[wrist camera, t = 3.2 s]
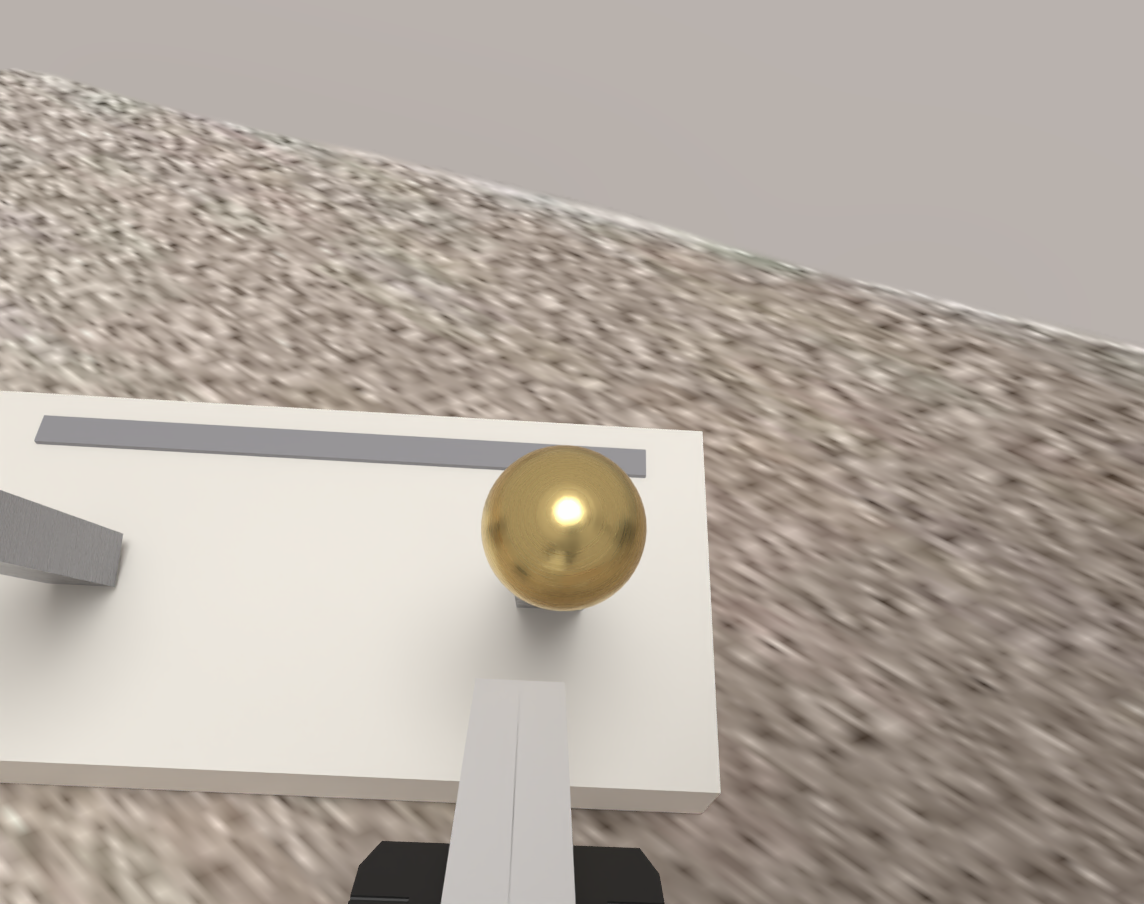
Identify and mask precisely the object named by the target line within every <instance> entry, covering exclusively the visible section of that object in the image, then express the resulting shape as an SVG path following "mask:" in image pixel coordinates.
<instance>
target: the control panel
mask: <svg viewBox="0 0 1144 904" xmlns="http://www.w3.org/2000/svg"><path fill="white" fill-rule="evenodd" d="M556 445H571V446H579V447H583V448H587V449H590V450H593V451H595V452H598V453H600V454H602V455H604V456H606V457H607V458H609V459H610V460H612V461H613V462H614V463H616V464H617V465H618V466H619V467H620V468H621V469H622V470H623V471H624V472H625V473H626V474H627V475H628V476H629V478H630V479H631V480H632V482H633V484H634V485H635V487H636V488H637V490H638V493H639V495H640V497H641V499H642V502H643V506H644V509H645V515H646V523H647V533H646V542H645V547H644V551H643V554H642V557H641V559H640V562H639V564H638V566H637V568H636V570H635V572H634V573H633V575H632V576H631V578H630V579H629V580H628V582H627V583H626V584H625V585H624V586H623V587H622V588H621V589H620V590H619V591H618V592H616V593H615V594H614V595H613V596H611V597H610V598H608V599H606V600H605V601H603V602H601V603H599V604H597V605H594V606H592V607H589V608H585V609H583V611H576V610H575V611H552V610H546V609H537V608H518V607H516V601H515V595H514V594H513V593H511V592H510V591H509V590H508V589H507V588H506V587H505V586H504V585H503V584H502V583H501V582H500V581H499V579H498V578H497V577H496V576H495V574H494V572H493V571H492V569H491V567H490V565H489V563H488V561H487V558H486V556H485V552H484V549H483V545H482V537H481V520H482V513H483V508H484V505H485V501H486V498H487V496H488V494H489V491H490V489H491V488H492V486H493V484H494V483H495V481H496V480H497V479H498V477H499V476H500V475H501V473H502V472H503V471H504V470H505V469H506V468H507V467H508V466H510V465H511V464H512V463H514V462H515V461H516V460H517V459H519V458H521V457H522V456H524V455H526V454H528V453H530V452H532V451H535V450H537V449H541V448H545V447H549V446H556ZM0 490H2V491H5V492H8V493H10V494H13V495H16V496H19V497H22V498H25V499H27V500H30V501H33V502H36V503H39V504H41V505H44V506H47V507H50V508H53V509H55V510H58V511H61V512H64V513H67V514H69V515H72V516H75V517H78V518H81V519H84V520H86V521H89V522H92V523H95V524H98V525H100V526H103V527H106V528H109V529H112V530H114V531H117V532H120V533H123V539H122V545H121V551H120V557H119V563H118V569H117V575H116V581H115V587H109V586H90V585H70V584H51V583H43V582H37V581H32V580H27V579H22V578H17V577H12V576H7V575H2V574H0V783H17V784H40V785H62V786H85V787H107V788H130V789H152V790H175V791H197V792H220V793H242V794H265V795H287V796H310V797H332V798H355V799H377V800H400V801H423V802H445V803H456V802H457V795H458V789H459V782H460V776H461V769H462V763H463V756H464V750H465V743H466V737H467V730H468V724H469V717H470V711H471V704H472V698H473V691H474V685H475V678H482V679H504V680H525V681H547V682H565V693H566V714H567V735H568V756H569V777H570V798H571V808H580V809H603V810H625V811H648V812H670V813H693V814H702V813H703V812H704V811H705V810H706V809H707V807H708V806H709V805H710V804H711V803H712V802H713V801H714V800H715V799H716V798H717V797H718V795H719V794H720V793H721V790H720V770H719V751H718V731H717V711H716V691H715V672H714V652H713V632H712V613H711V593H710V573H709V554H708V534H707V514H706V494H705V475H704V455H703V435H702V431H685V430H668V429H651V428H634V427H616V426H599V425H582V424H565V423H547V422H530V421H513V420H496V419H478V418H461V417H444V416H427V415H410V414H392V413H375V412H358V411H341V410H323V409H306V408H289V407H272V406H254V405H237V404H220V403H203V402H185V401H168V400H151V399H134V398H117V397H99V396H82V395H65V394H48V393H30V392H13V391H0Z"/></svg>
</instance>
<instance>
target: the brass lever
mask: <svg viewBox="0 0 1144 904" xmlns="http://www.w3.org/2000/svg"><path fill="white" fill-rule="evenodd" d="M646 533H647V523H646V515H645V509H644V506H643V502H642V499H641V497H640V495H639V493H638V490H637V488H636V487H635V485H634V484H633V482H632V480H631V479H630V478H629V476H628V475H627V474H626V473H625V472H624V471H623V470H622V469H621V468H620V467H619V466H618V465H617V464H616V463H614V462H613V461H612V460H610V459H609V458H607V457H606V456H604V455H602V454H600V453H598V452H595V451H593V450H590V449H587V448H583V447H579V446H571V445H556V446H549V447H545V448H541V449H537V450H535V451H532V452H530V453H528V454H526V455H524V456H522V457H521V458H519V459H517V460H516V461H515V462H514V463H512V464H511V465H510V466H508V467H507V468H506V469H505V470H504V471H503V472H502V473H501V475H500V476H499V477H498V479H497V480H496V481H495V483H494V484H493V486H492V488H491V489H490V491H489V494H488V496H487V498H486V501H485V505H484V508H483V513H482V520H481V537H482V545H483V549H484V552H485V556H486V558H487V561H488V563H489V565H490V567H491V569H492V571H493V572H494V574H495V576H496V577H497V578H498V579H499V581H500V582H501V583H502V584H503V585H504V586H505V587H506V588H507V589H508V590H509V591H510V592H511V593H513V594H514V595H515V601H516V607H518V608H537V609H546V610H552V611H575V610H576V611H583V609H585V608H589V607H592V606H594V605H597V604H599V603H601V602H603V601H605V600H606V599H608V598H610V597H611V596H613V595H614V594H615V593H616V592H618V591H619V590H620V589H621V588H622V587H623V586H624V585H625V584H626V583H627V582H628V580H629V579H630V578H631V576H632V575H633V573H634V572H635V570H636V568H637V566H638V564H639V562H640V559H641V557H642V554H643V551H644V547H645V542H646Z"/></svg>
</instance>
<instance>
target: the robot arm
mask: <svg viewBox="0 0 1144 904" xmlns="http://www.w3.org/2000/svg"><path fill="white" fill-rule="evenodd" d="M348 904H664V898H663V893H662V887H661V881H660V876H659V873H658V872H657V871H656V869H655V868H654V867H653V865H652V864H651V863H650V861H649V860H648V859H647V857H646V856H645V855H644V853H643V852H642V851H641V849H640V848H619V847H593V846H573V841H572V819H571V798H570V777H569V756H568V735H567V714H566V693H565V682H547V681H525V680H504V679H482V678H475V685H474V691H473V698H472V704H471V711H470V717H469V724H468V730H467V737H466V743H465V750H464V756H463V763H462V769H461V776H460V782H459V789H458V795H457V802H456V808H455V815H454V821H453V828H452V834H451V841H450V844H445V843H419V842H393V841H382V842H381V843H380V844H379V845H378V846H377V847H376V848H375V849H374V850H373V851H372V852H371V853H370V855H369V856H368V857H367V858H366V859H365V860H364V861H363V862H362V863H361V864H360V865H359V868H358V871H357V875H356V878H355V882H354V885H353V889H352V892H351V897H350V901H349V902H348Z"/></svg>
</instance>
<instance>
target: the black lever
mask: <svg viewBox="0 0 1144 904" xmlns="http://www.w3.org/2000/svg"><path fill="white" fill-rule="evenodd" d="M122 539H123V533H120V532H117V531H114V530H112V529H109V528H106V527H103V526H100V525H98V524H95V523H92V522H89V521H86V520H84V519H81V518H78V517H75V516H72V515H69V514H67V513H64V512H61V511H58V510H55V509H53V508H50V507H47V506H44V505H41V504H39V503H36V502H33V501H30V500H27V499H25V498H22V497H19V496H16V495H13V494H10V493H8V492H5V491H2V490H0V574H2V575H7V576H12V577H17V578H22V579H27V580H32V581H37V582H43V583H51V584H70V585H90V586H109V587H115V581H116V575H117V569H118V563H119V557H120V551H121V545H122Z"/></svg>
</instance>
